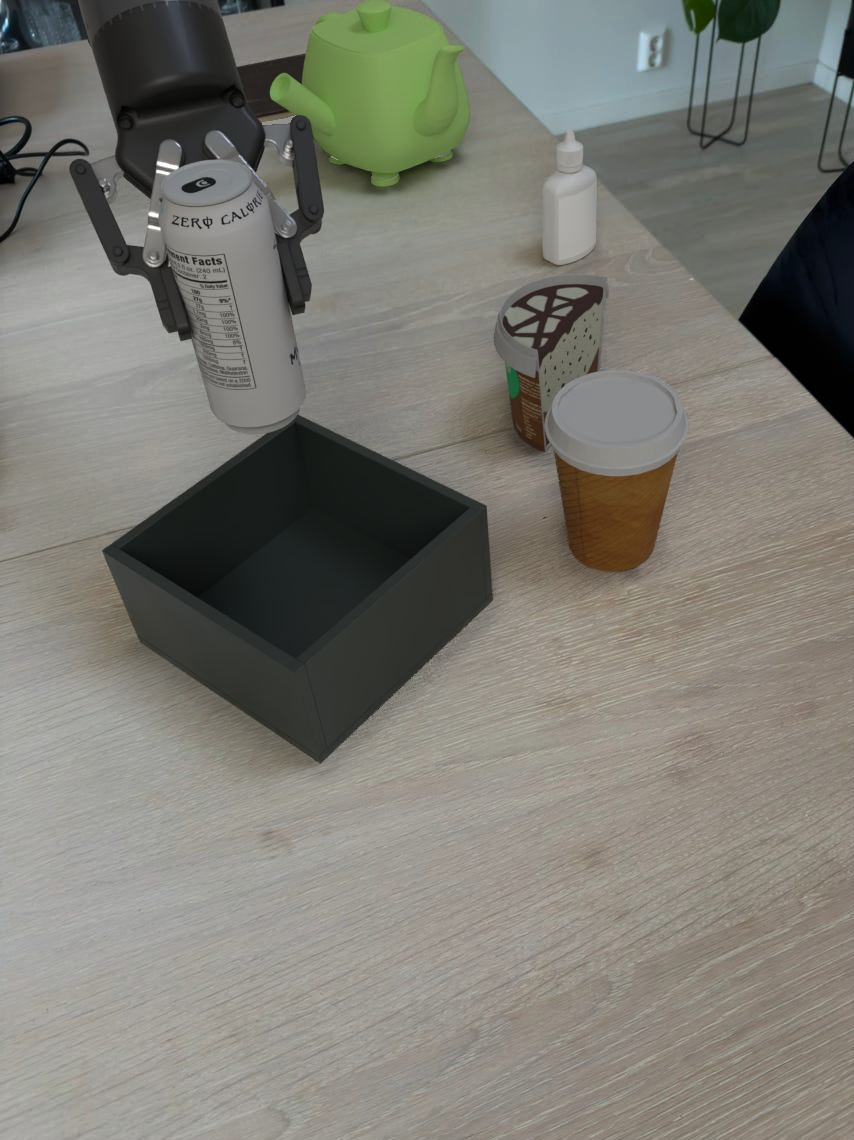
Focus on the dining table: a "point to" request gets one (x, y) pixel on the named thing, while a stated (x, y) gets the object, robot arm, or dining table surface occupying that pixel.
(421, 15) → the teapot
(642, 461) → the disposable coffee cup
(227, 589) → the bin
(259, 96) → the hardcover book
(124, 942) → the dining table surface
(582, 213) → the eye dropper bottle
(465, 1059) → the dining table surface
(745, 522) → the dining table surface
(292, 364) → the energy drink can
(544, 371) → the food container
